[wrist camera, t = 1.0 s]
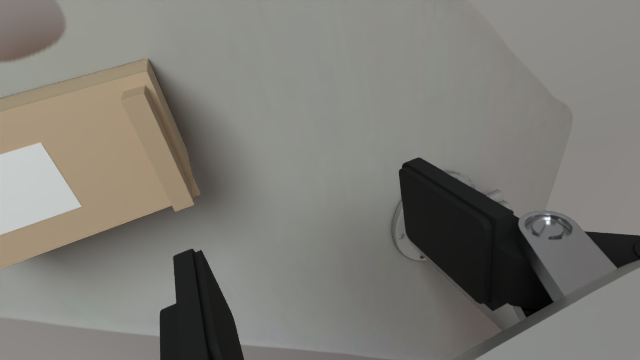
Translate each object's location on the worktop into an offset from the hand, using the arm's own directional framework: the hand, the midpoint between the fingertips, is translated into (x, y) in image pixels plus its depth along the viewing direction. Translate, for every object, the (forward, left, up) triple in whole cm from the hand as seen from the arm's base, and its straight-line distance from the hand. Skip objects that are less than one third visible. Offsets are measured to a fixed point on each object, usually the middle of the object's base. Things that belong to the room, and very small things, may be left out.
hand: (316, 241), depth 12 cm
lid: (+12, 0, -16) cm, 20 cm away
